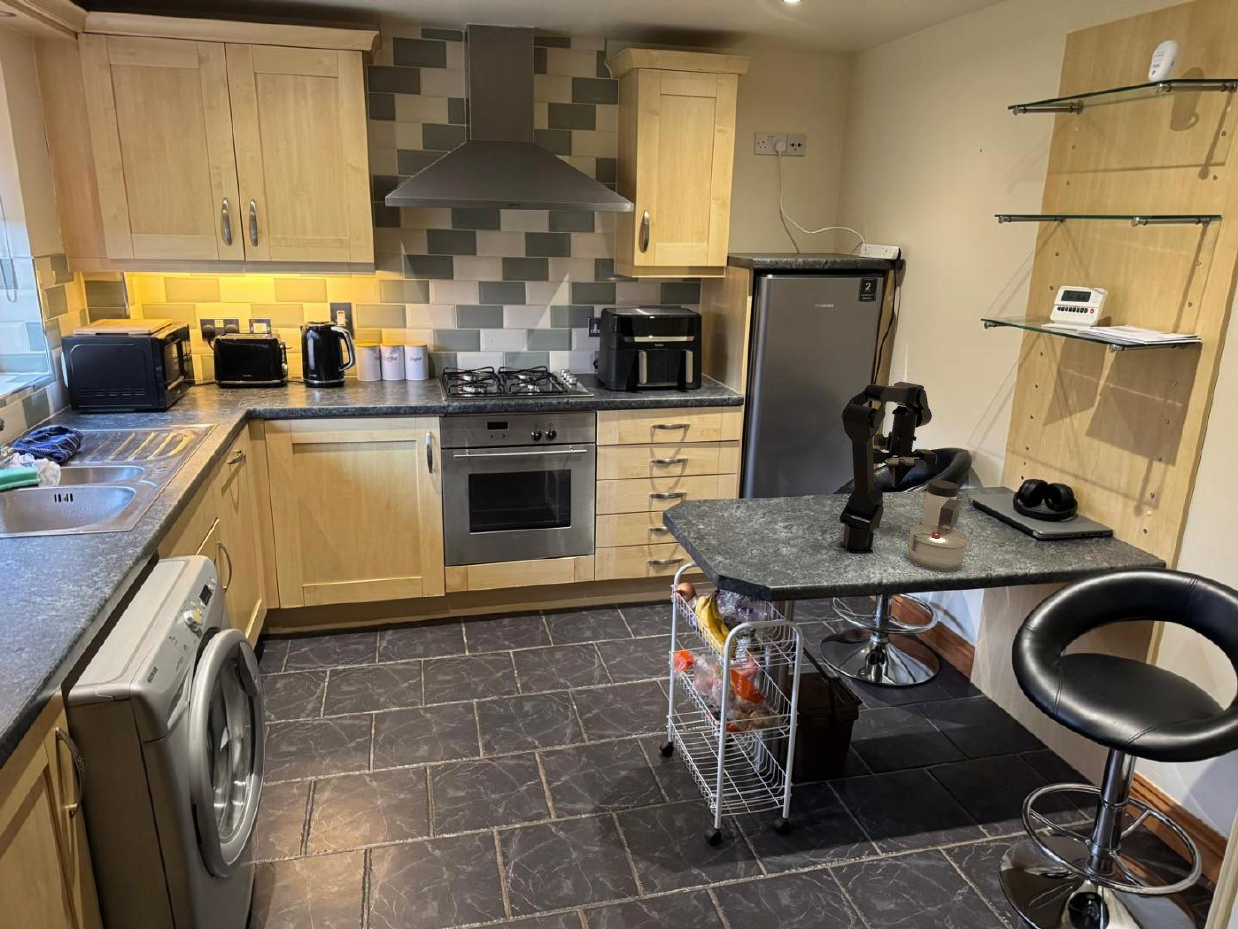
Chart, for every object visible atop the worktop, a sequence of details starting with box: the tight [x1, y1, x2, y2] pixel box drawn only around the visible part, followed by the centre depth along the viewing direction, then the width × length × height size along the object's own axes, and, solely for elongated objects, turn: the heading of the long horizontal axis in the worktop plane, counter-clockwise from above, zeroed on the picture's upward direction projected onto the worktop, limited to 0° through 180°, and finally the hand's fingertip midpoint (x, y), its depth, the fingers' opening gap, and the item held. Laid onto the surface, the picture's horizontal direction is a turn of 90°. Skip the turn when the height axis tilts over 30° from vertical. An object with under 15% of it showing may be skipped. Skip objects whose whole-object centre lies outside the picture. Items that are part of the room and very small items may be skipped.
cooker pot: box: [906, 535, 967, 573], centre depth 211 cm, size 20×13×6 cm, turn 148°
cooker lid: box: [909, 499, 969, 548], centre depth 210 cm, size 22×13×6 cm, turn 148°
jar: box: [920, 479, 960, 526], centre depth 235 cm, size 9×8×12 cm
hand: (894, 487), depth 224 cm, fingers closed
